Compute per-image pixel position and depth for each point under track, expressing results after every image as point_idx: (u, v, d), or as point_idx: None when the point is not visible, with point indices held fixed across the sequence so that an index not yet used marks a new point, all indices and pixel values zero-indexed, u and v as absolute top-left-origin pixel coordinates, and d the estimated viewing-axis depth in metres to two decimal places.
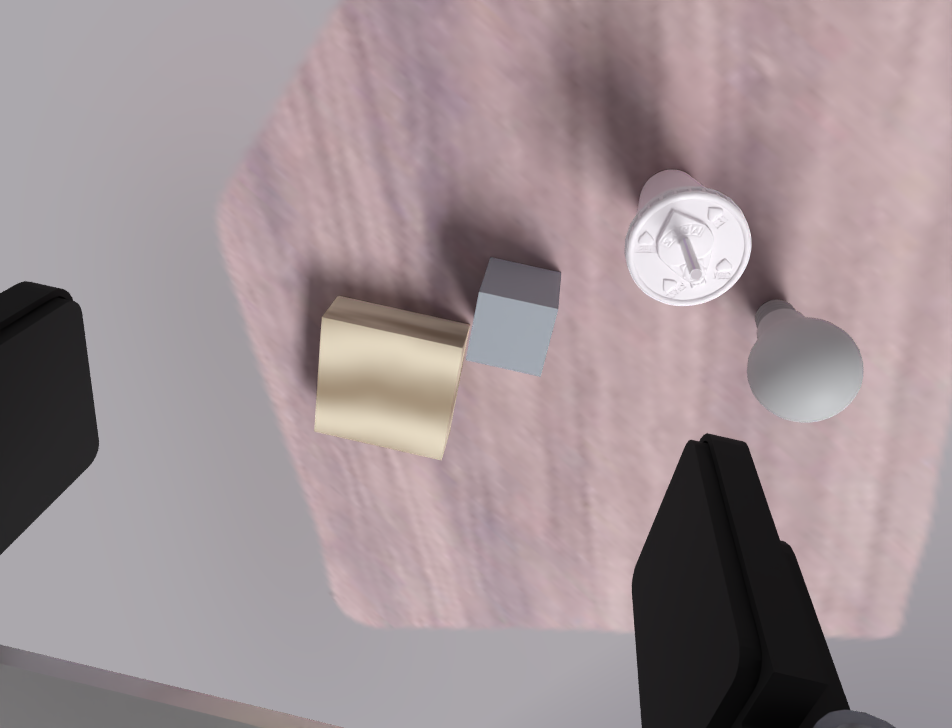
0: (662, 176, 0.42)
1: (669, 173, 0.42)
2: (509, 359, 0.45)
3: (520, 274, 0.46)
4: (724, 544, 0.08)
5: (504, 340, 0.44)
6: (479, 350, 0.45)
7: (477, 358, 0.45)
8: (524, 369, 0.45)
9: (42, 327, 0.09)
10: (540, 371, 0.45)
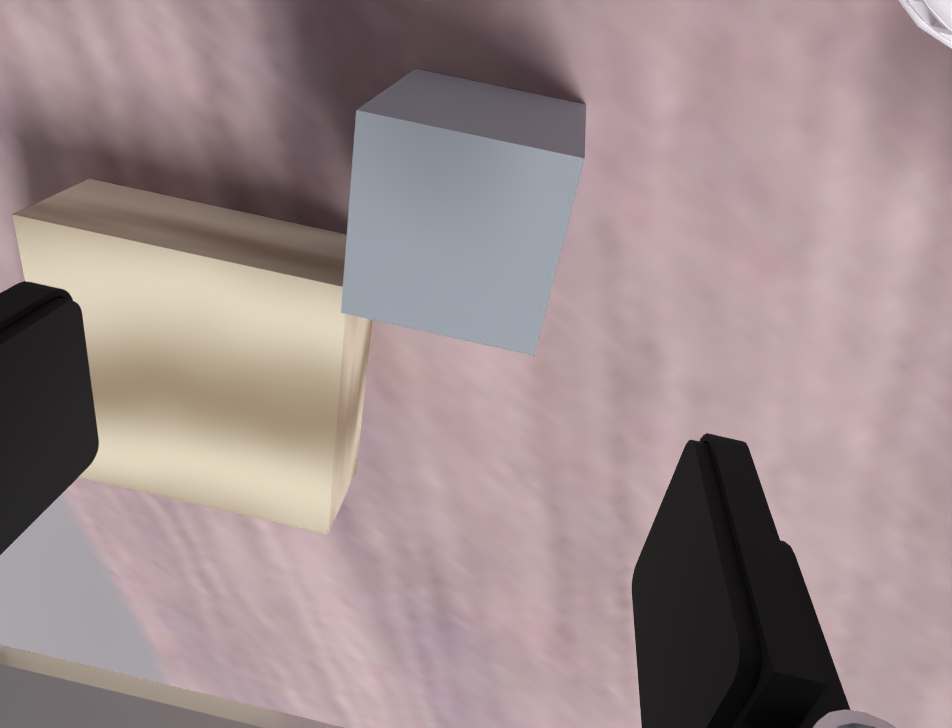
0: None
1: None
2: (452, 310, 0.17)
3: (484, 96, 0.18)
4: (724, 544, 0.08)
5: (435, 255, 0.16)
6: (373, 286, 0.17)
7: (369, 308, 0.17)
8: (492, 336, 0.17)
9: (42, 327, 0.09)
10: (534, 342, 0.17)
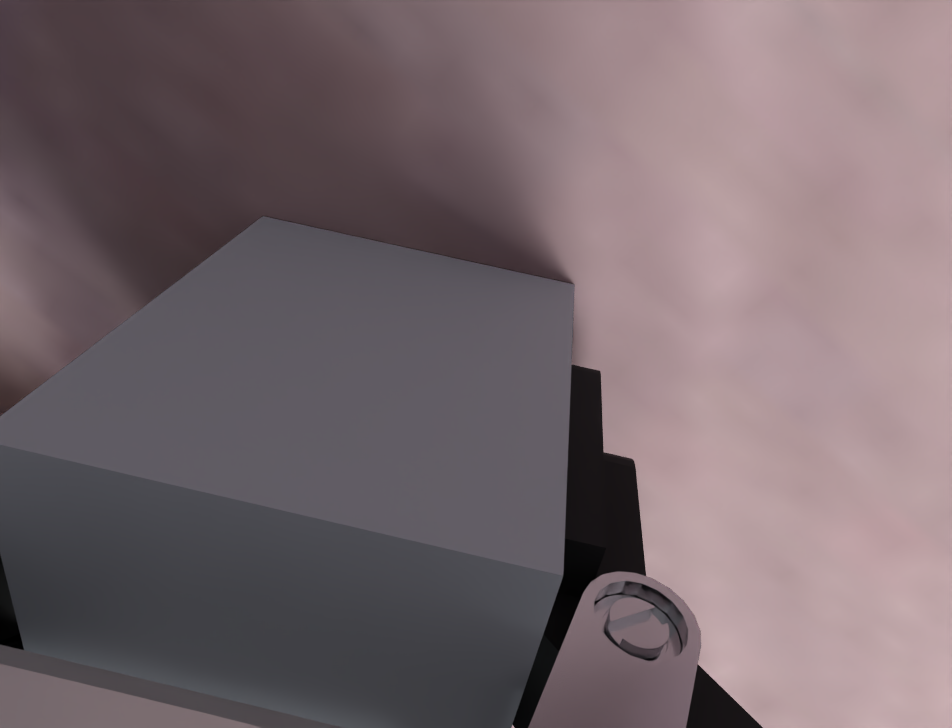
0: None
1: None
2: None
3: (370, 297, 0.09)
4: None
5: None
6: None
7: None
8: None
9: None
10: None
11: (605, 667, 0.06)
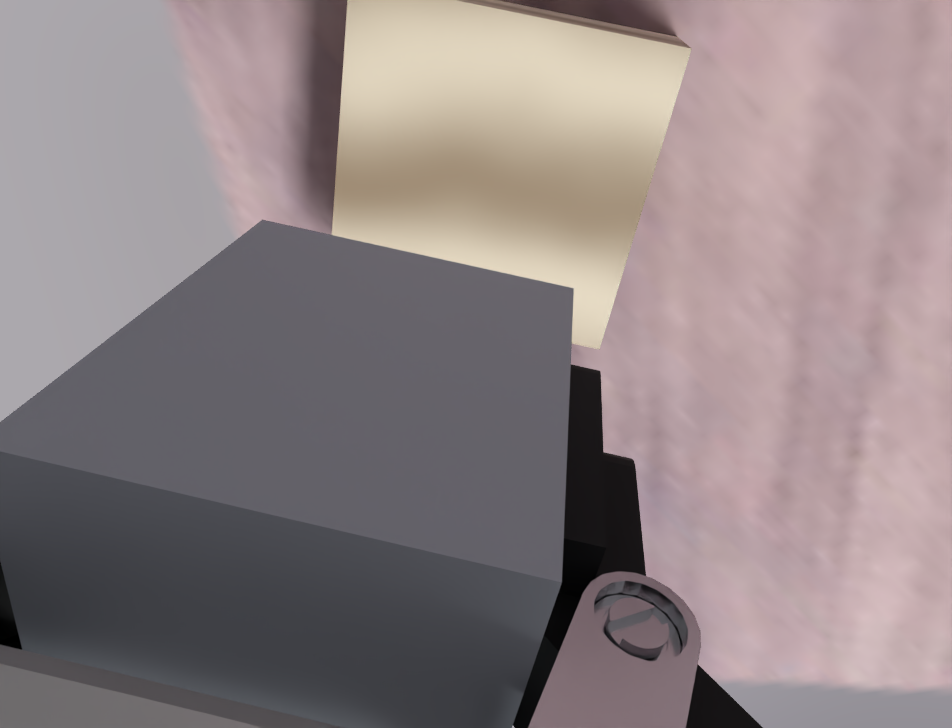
0: None
1: None
2: None
3: (370, 301, 0.09)
4: None
5: None
6: None
7: None
8: None
9: None
10: None
11: (604, 667, 0.06)
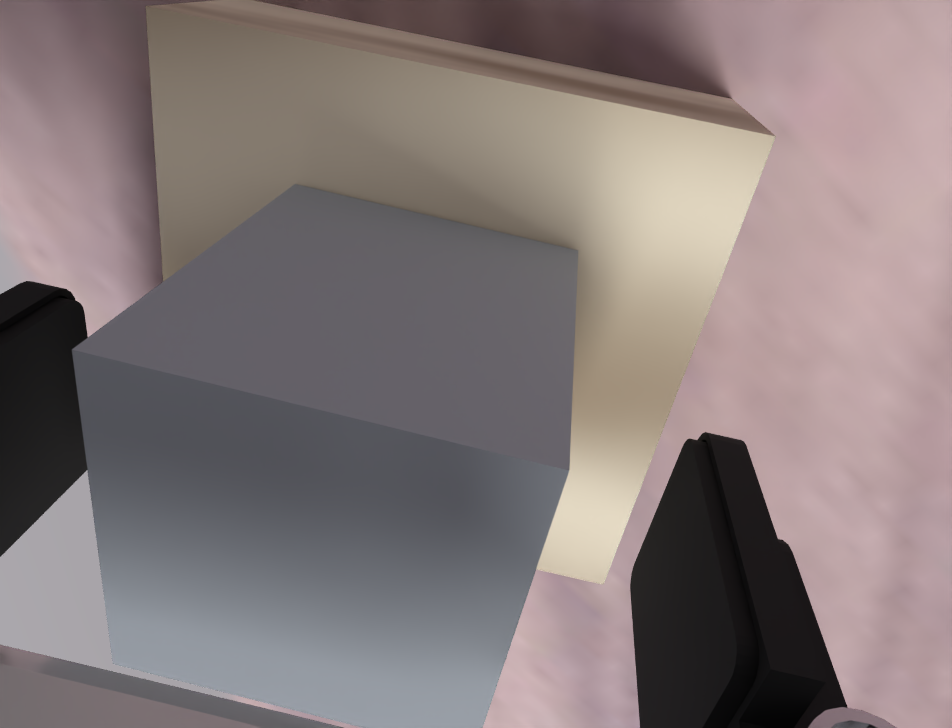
0: None
1: None
2: (315, 680, 0.09)
3: (396, 254, 0.10)
4: (722, 542, 0.08)
5: (273, 601, 0.08)
6: (163, 633, 0.09)
7: (163, 663, 0.09)
8: (393, 722, 0.09)
9: (45, 327, 0.09)
10: None
11: None
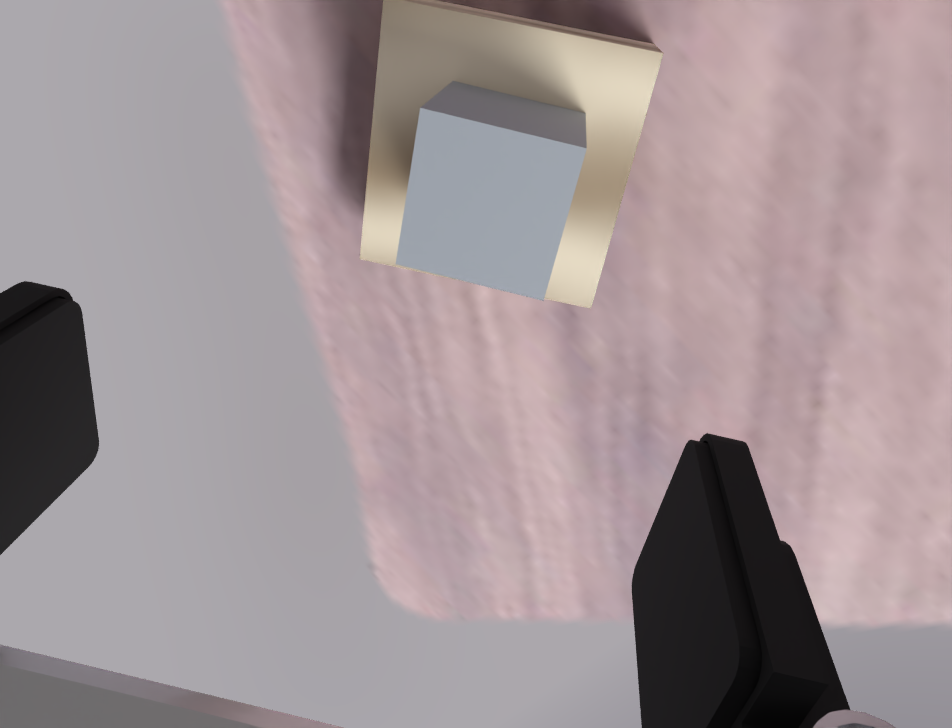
0: None
1: None
2: (482, 263, 0.22)
3: (508, 103, 0.24)
4: (724, 544, 0.08)
5: (471, 220, 0.22)
6: (422, 243, 0.22)
7: (418, 261, 0.23)
8: (512, 285, 0.23)
9: (42, 327, 0.09)
10: (544, 289, 0.23)
11: None
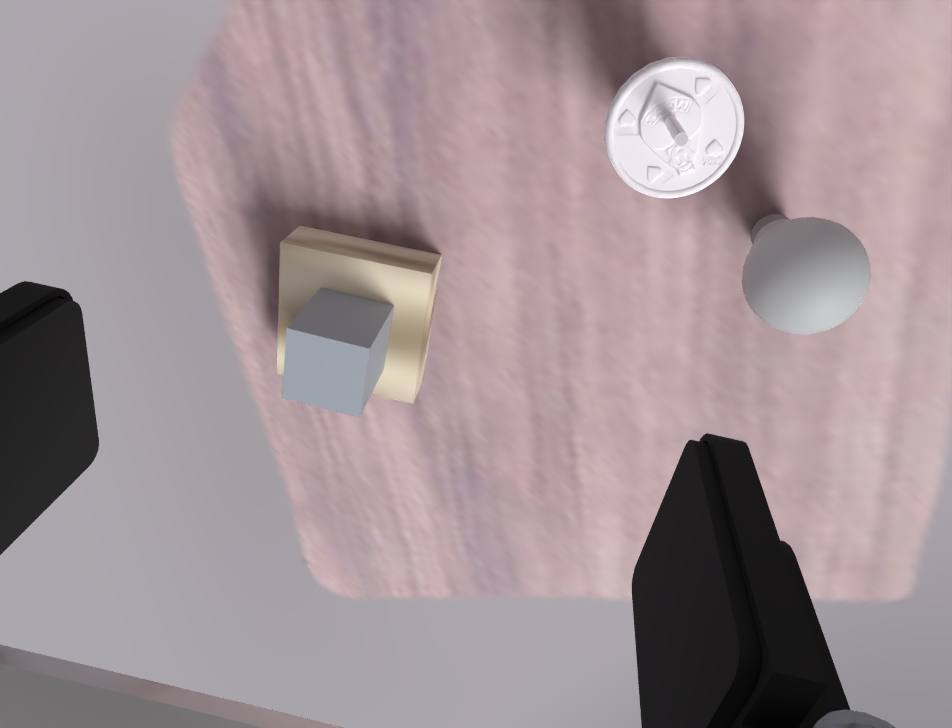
0: None
1: None
2: (326, 398, 0.43)
3: (345, 308, 0.44)
4: (724, 544, 0.08)
5: (318, 378, 0.42)
6: (294, 388, 0.43)
7: (293, 396, 0.43)
8: (342, 409, 0.43)
9: (42, 327, 0.09)
10: (359, 412, 0.43)
11: None
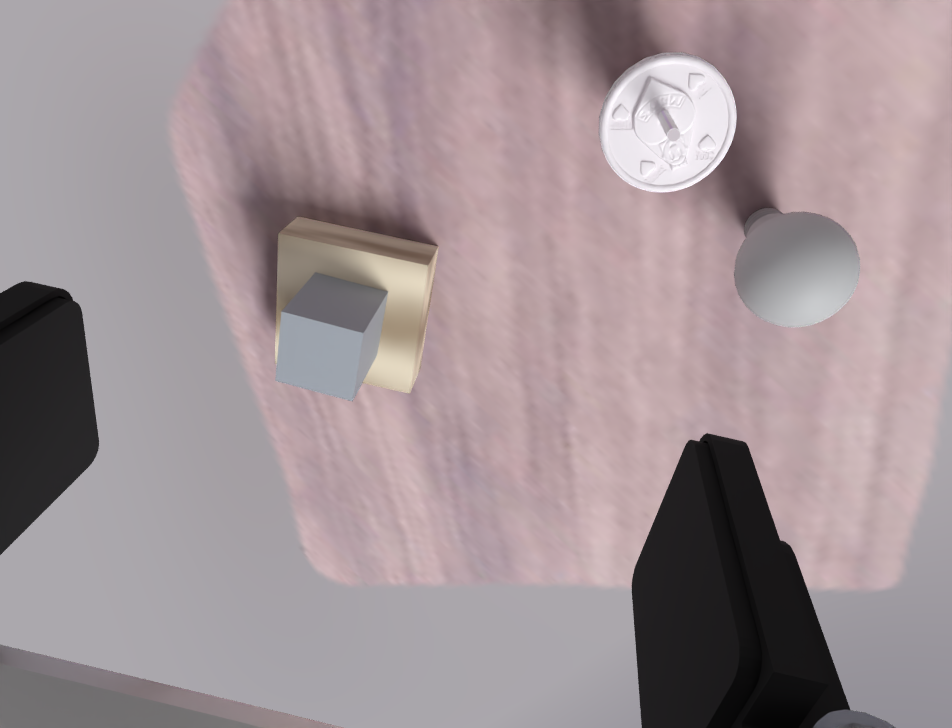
0: None
1: None
2: (319, 382, 0.43)
3: (339, 293, 0.44)
4: (724, 544, 0.08)
5: (312, 362, 0.42)
6: (288, 371, 0.43)
7: (286, 379, 0.43)
8: (335, 393, 0.43)
9: (42, 327, 0.09)
10: (352, 396, 0.43)
11: None
